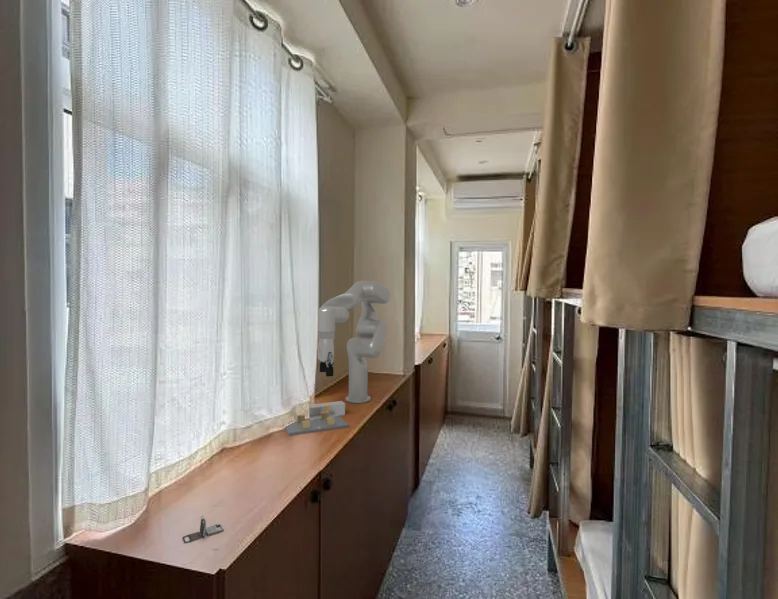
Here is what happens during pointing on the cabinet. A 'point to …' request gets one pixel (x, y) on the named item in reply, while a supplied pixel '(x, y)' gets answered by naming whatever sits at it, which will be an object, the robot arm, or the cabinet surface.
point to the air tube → (327, 409)
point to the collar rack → (315, 424)
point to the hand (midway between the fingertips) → (326, 374)
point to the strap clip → (204, 531)
